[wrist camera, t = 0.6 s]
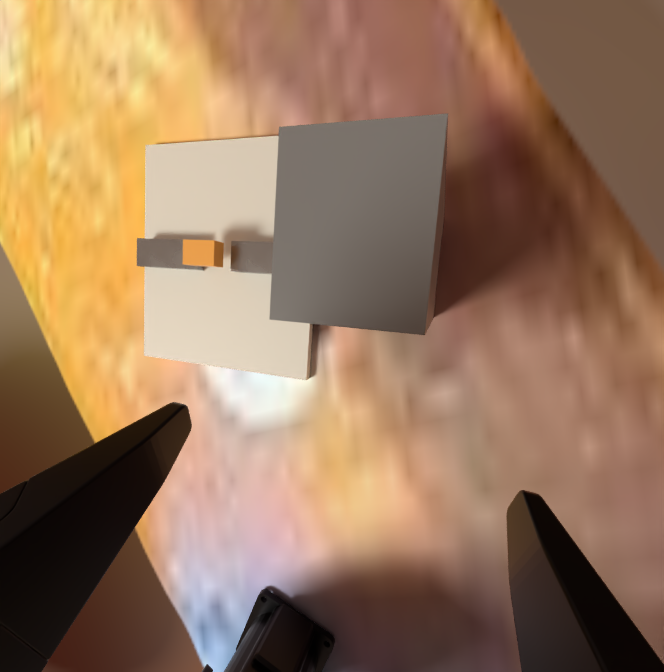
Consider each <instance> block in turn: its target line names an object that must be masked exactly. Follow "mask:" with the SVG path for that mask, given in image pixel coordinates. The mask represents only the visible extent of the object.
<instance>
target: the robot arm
mask: <svg viewBox="0 0 664 672" xmlns="http://www.w3.org/2000/svg"><path fill="white" fill-rule="evenodd" d="M191 427H192V424H191V419H190V414H189V410H188V407H187V406H186V405H184V404H180V403H176V402H172V403H170V404H168V405H166V406H164V407H162V408H160V409H158V410H156V411H155V412H153V413H151V414H149V415H147V416H145V417H143V418H141V419H140V420H138V421H136V422H134V423H132V424H130V425H128V426H127V427H125V428H123V429H121V430H119V431H117V432H115V433H113V434H112V435H110V436H108V437H106V438H104V439H102V440H100V441H98V442H97V443H95V444H93V445H91V446H89V447H87V448H85V449H84V450H82V451H80V452H78V453H76V454H74V455H72V456H71V457H69V458H67V459H65V460H63V461H61V462H59V463H57V464H56V465H54V466H52V467H50V468H48V469H46V470H44V471H42V472H41V473H39V474H37V475H35V476H33V477H31V478H30V479H29V480H28V481H27V480H26V481H24V482H22V483H20V484H18V485H16V486H14V487H12V488H10V489H9V490H7V491H5V492H3V493H1V494H0V672H41V671H42V670H43V668H44V667H45V665H46V664H47V662H48V659H49V658H50V657H51V656H52V654H53V653H54V651H55V649H56V648H57V646H58V645H59V643H60V642H61V640H62V639H63V637H64V636H65V634H66V633H67V631H68V629H69V628H70V626H71V625H72V623H73V622H74V620H75V619H76V617H77V615H78V614H79V613H80V611H81V609H82V608H83V606H84V605H85V603H86V602H87V600H88V599H89V597H90V595H91V594H92V592H93V591H94V589H95V588H96V586H97V585H98V583H99V582H100V580H101V578H102V577H103V576H104V574H105V572H106V571H107V569H108V568H109V566H110V565H111V563H112V562H113V560H114V559H115V557H116V555H117V554H118V552H119V551H120V549H121V548H122V546H123V545H124V543H125V542H126V540H127V539H128V537H129V536H130V534H131V532H132V531H133V529H134V528H135V526H136V525H137V523H138V522H139V520H140V519H141V517H142V516H143V514H144V512H145V511H146V509H147V508H148V506H149V505H150V503H151V502H152V500H153V499H154V497H155V496H156V494H157V492H158V491H159V489H160V488H161V486H162V484H163V483H164V481H165V479H166V478H167V476H168V474H169V472H170V470H171V468H172V466H173V464H174V462H175V461H176V459H177V457H178V455H179V453H180V451H181V449H182V447H183V445H184V443H185V441H186V439H187V437H188V435H189V433H190V431H191ZM507 542H508V570H509V584H510V593H511V600H512V607H513V614H514V621H515V628H516V635H517V641H518V648H519V655H520V662H521V669H522V672H664V664H663V663H662V661H661V660H660V658H659V657H658V656H657V654H656V653H655V652H654V650H653V649H652V647H651V646H650V645H649V643H648V642H647V641H646V639H645V638H644V637H643V635H642V634H641V632H640V631H639V630H638V628H637V627H636V626H635V624H634V623H633V621H632V620H631V619H630V617H629V616H628V615H627V613H626V612H625V611H624V609H623V608H622V606H621V605H620V604H619V602H618V601H617V600H616V598H615V597H614V595H613V594H612V593H611V591H610V590H609V589H608V587H607V586H606V584H605V583H604V582H603V580H602V579H601V578H600V576H599V575H598V574H597V572H596V571H595V569H594V568H593V567H592V565H591V564H590V563H589V561H588V560H587V558H586V557H585V556H584V554H583V553H582V552H581V550H580V549H579V547H578V546H577V545H576V543H575V542H574V541H573V539H572V538H571V537H570V535H569V534H568V532H567V531H566V530H565V528H564V527H563V526H562V524H561V523H560V521H559V520H558V519H557V517H556V516H555V515H554V513H553V512H552V511H551V509H550V508H549V506H548V505H547V504H546V502H545V501H544V500H543V498H542V497H541V496H540V495H538V494H536V493H533V492H529V491H525V490H521V491H519V492H518V494H517V495H516V497H515V498H514V500H513V501H512V503H511V504H510V506H509V507H508V510H507ZM327 641H328V642H327ZM334 643H335V638H334V637H333V635H332V634H330V633H329V632H327V631H326V630H325V629H323V628H322V627H320V626H319V625H317V624H316V623H314V622H313V621H312V620H310V619H309V618H307V617H306V616H304V615H303V614H301V613H300V612H299V611H297V610H296V609H294V608H293V607H291V606H290V605H288V604H287V603H286V602H284V601H283V600H281V599H280V598H278V597H277V596H275V595H274V594H273V593H271V592H270V591H268V590H266V589H263V590H262V591H261V592H260V594H259V595H258V597H257V600H256V602H255V605H254V607H253V609H252V612H251V614H250V616H249V619H248V621H247V624H246V626H245V628H244V631H243V633H242V635H241V638H240V640H239V643H238V645H237V647H236V652H235V654H234V655H233V657H232V659H231V661H230V662H229V664H228V666H227V667H226V669H225V671H224V672H321V671H322V669H323V667H324V665H325V663H326V661H327V659H328V657H329V655H330V653H331V651H332V649H333V646H334ZM202 672H213V669H212V668H211V667H210V666H209V665H208V664H207V665H206V666H205V668H204V669H203V670H202Z"/></svg>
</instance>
